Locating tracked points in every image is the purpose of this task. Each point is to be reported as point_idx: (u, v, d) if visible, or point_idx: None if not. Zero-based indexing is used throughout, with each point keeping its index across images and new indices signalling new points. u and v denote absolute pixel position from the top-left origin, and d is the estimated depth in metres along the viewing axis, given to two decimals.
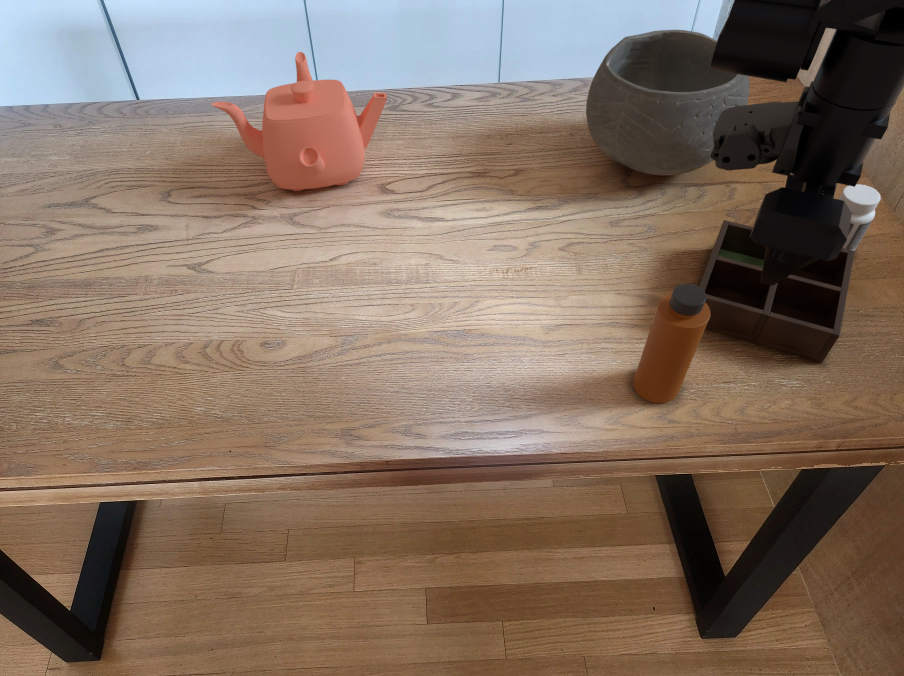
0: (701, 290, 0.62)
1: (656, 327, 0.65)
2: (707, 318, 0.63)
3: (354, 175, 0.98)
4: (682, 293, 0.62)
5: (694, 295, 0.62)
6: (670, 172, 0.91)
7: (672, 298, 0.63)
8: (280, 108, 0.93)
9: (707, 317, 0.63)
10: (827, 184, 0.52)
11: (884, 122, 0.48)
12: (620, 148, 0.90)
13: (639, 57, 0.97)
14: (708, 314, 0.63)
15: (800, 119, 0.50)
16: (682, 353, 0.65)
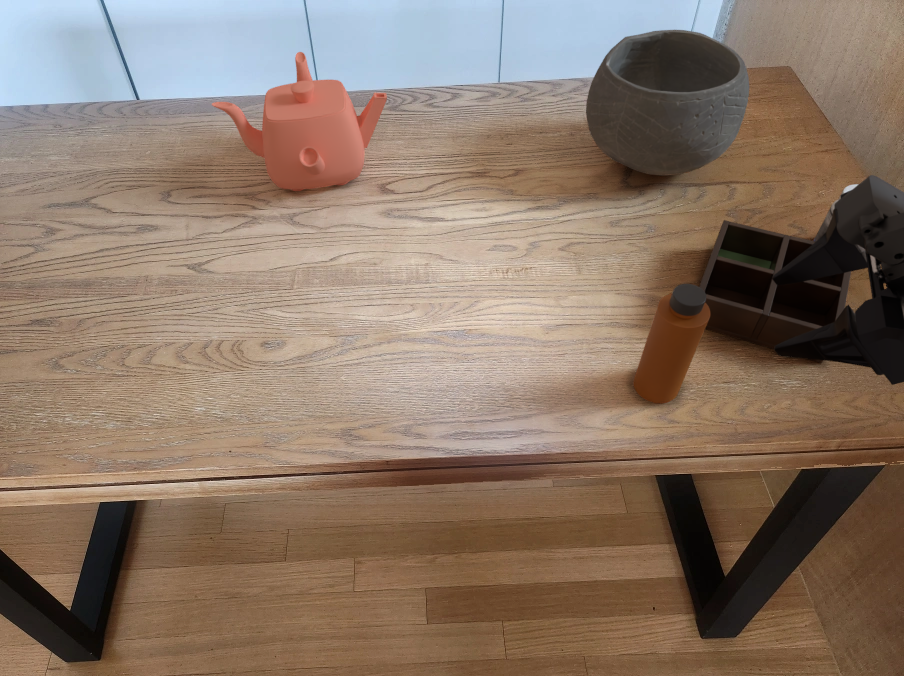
0: (701, 290, 0.62)
1: (656, 327, 0.65)
2: (707, 318, 0.63)
3: (354, 175, 0.98)
4: (682, 293, 0.62)
5: (694, 295, 0.62)
6: (670, 172, 0.91)
7: (672, 298, 0.63)
8: (280, 108, 0.93)
9: (707, 317, 0.63)
10: (902, 302, 0.53)
11: None
12: (620, 148, 0.90)
13: (639, 57, 0.97)
14: (708, 314, 0.63)
15: None
16: (682, 353, 0.65)
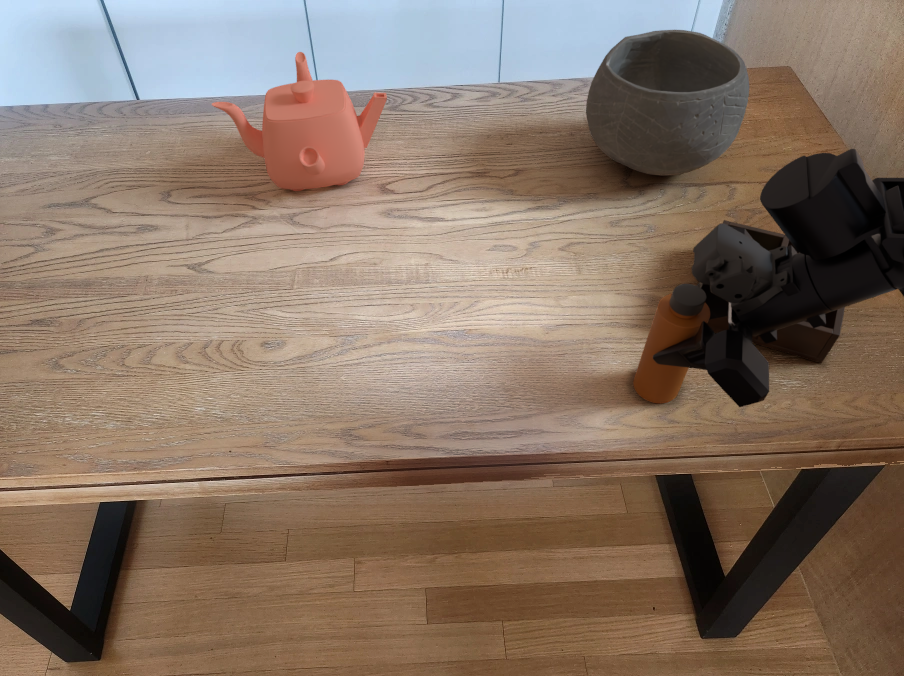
0: (701, 290, 0.62)
1: (657, 327, 0.65)
2: (707, 318, 0.63)
3: (354, 175, 0.98)
4: (682, 293, 0.62)
5: (694, 295, 0.62)
6: (670, 172, 0.91)
7: (672, 298, 0.63)
8: (280, 108, 0.93)
9: (707, 317, 0.63)
10: (753, 334, 0.60)
11: (824, 317, 0.57)
12: (620, 148, 0.90)
13: (639, 57, 0.97)
14: (708, 314, 0.63)
15: (785, 285, 0.55)
16: None
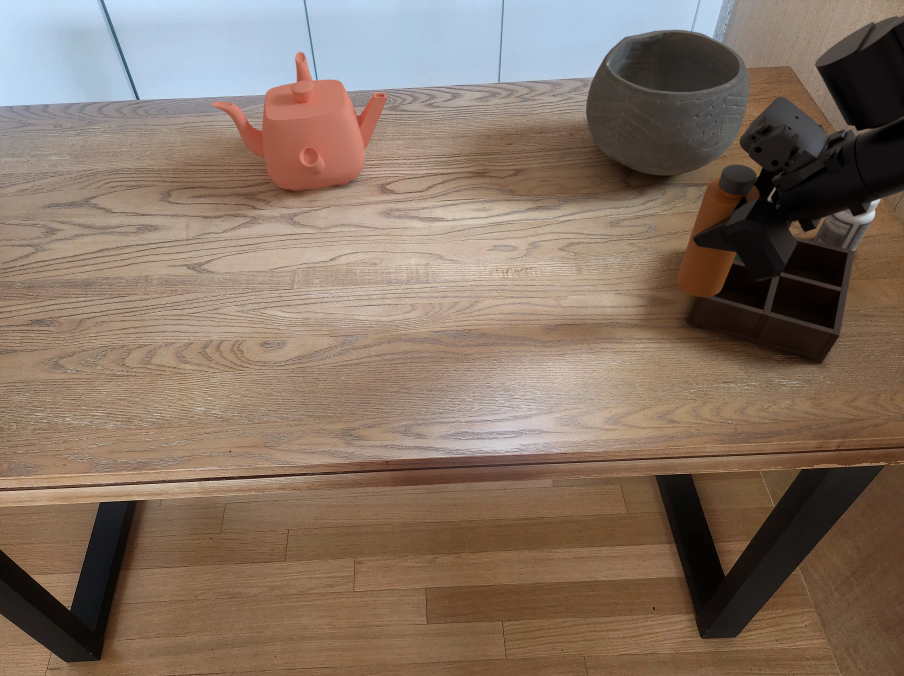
0: (753, 172, 0.63)
1: (702, 206, 0.66)
2: None
3: (354, 175, 0.98)
4: (732, 171, 0.63)
5: (744, 174, 0.63)
6: (670, 172, 0.91)
7: (721, 175, 0.63)
8: (280, 108, 0.93)
9: None
10: (792, 217, 0.60)
11: (866, 206, 0.56)
12: (620, 148, 0.90)
13: (639, 57, 0.97)
14: (755, 198, 0.63)
15: (828, 161, 0.55)
16: None
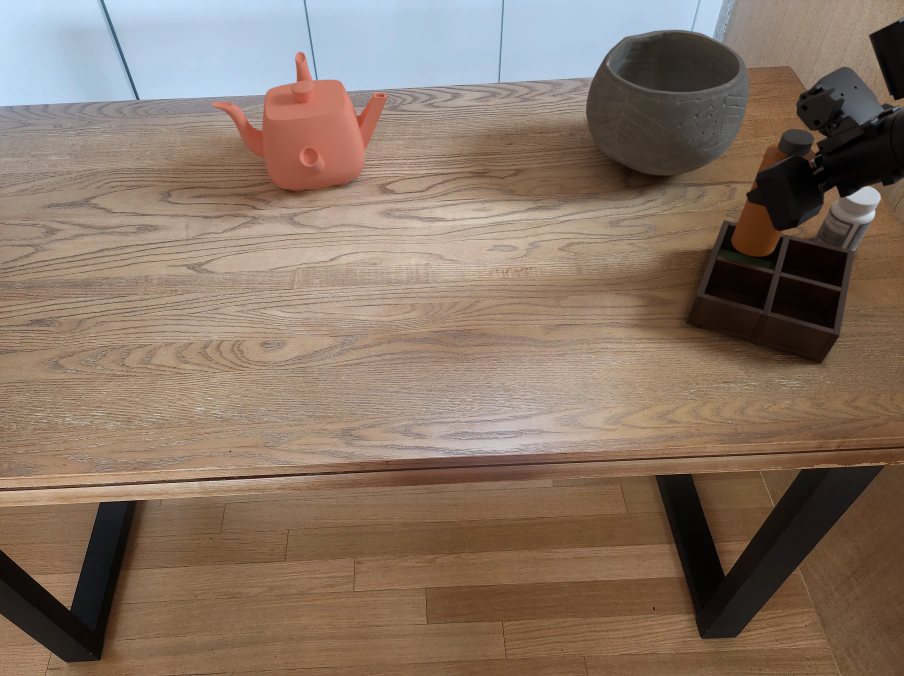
0: (812, 138, 0.68)
1: None
2: None
3: (354, 175, 0.98)
4: (792, 134, 0.68)
5: (802, 138, 0.68)
6: (670, 172, 0.91)
7: (782, 136, 0.69)
8: (280, 108, 0.93)
9: None
10: (831, 181, 0.65)
11: (897, 178, 0.60)
12: (620, 148, 0.90)
13: (639, 57, 0.97)
14: (809, 163, 0.68)
15: (867, 128, 0.60)
16: None
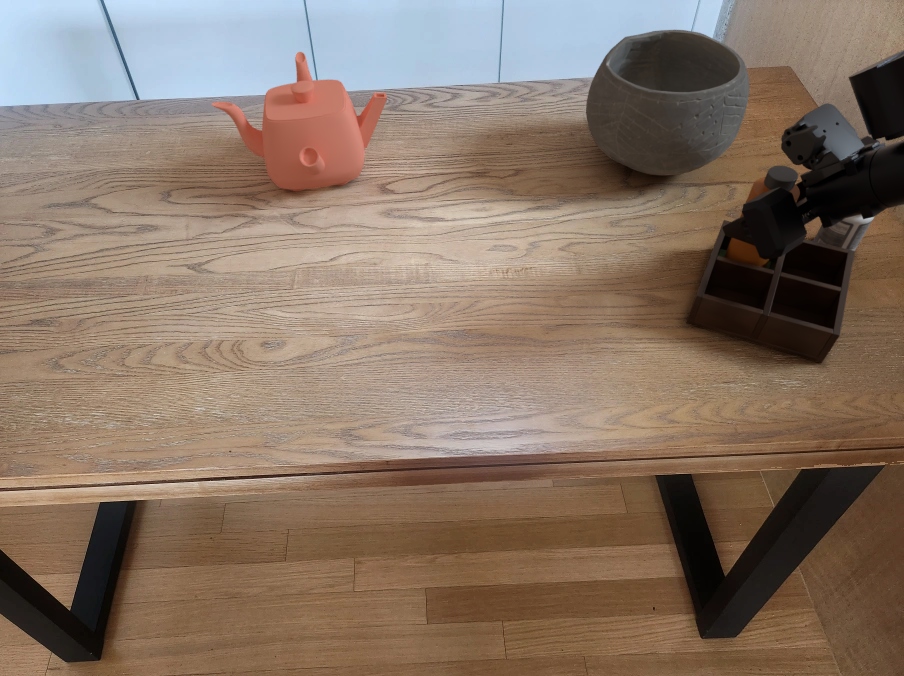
0: (796, 174, 0.71)
1: None
2: None
3: (354, 175, 0.98)
4: (777, 170, 0.72)
5: (786, 175, 0.71)
6: (670, 172, 0.91)
7: (767, 172, 0.72)
8: (280, 108, 0.93)
9: None
10: (814, 212, 0.68)
11: (876, 212, 0.63)
12: (620, 148, 0.90)
13: (639, 57, 0.97)
14: None
15: (847, 164, 0.63)
16: None
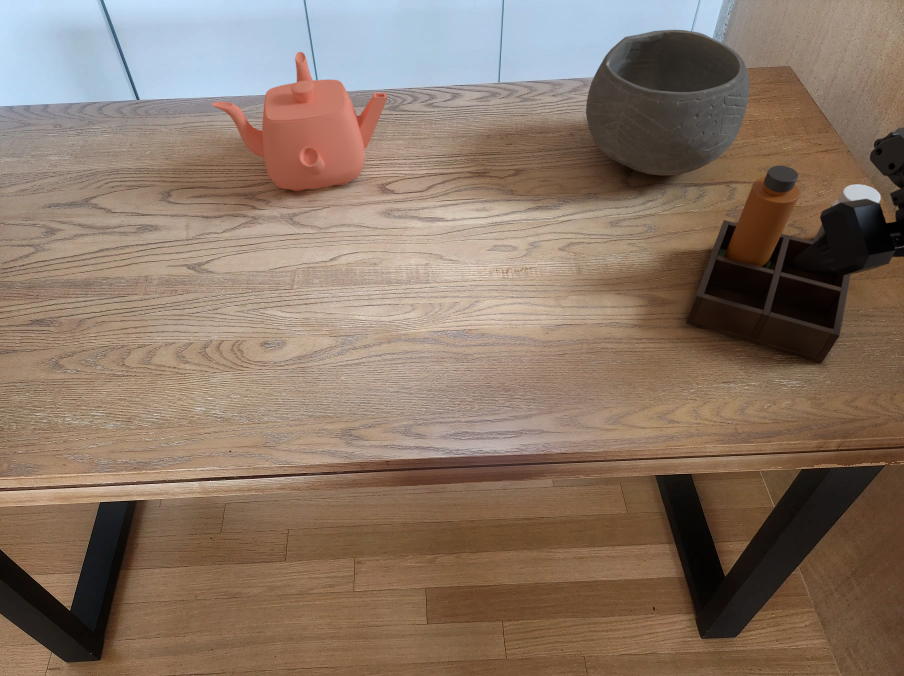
0: (796, 174, 0.71)
1: None
2: (789, 200, 0.71)
3: (354, 175, 0.98)
4: (777, 170, 0.72)
5: (786, 175, 0.71)
6: (670, 172, 0.91)
7: (767, 172, 0.72)
8: (280, 108, 0.93)
9: (790, 200, 0.72)
10: None
11: None
12: (620, 148, 0.90)
13: (639, 57, 0.97)
14: (793, 199, 0.72)
15: None
16: (758, 228, 0.75)
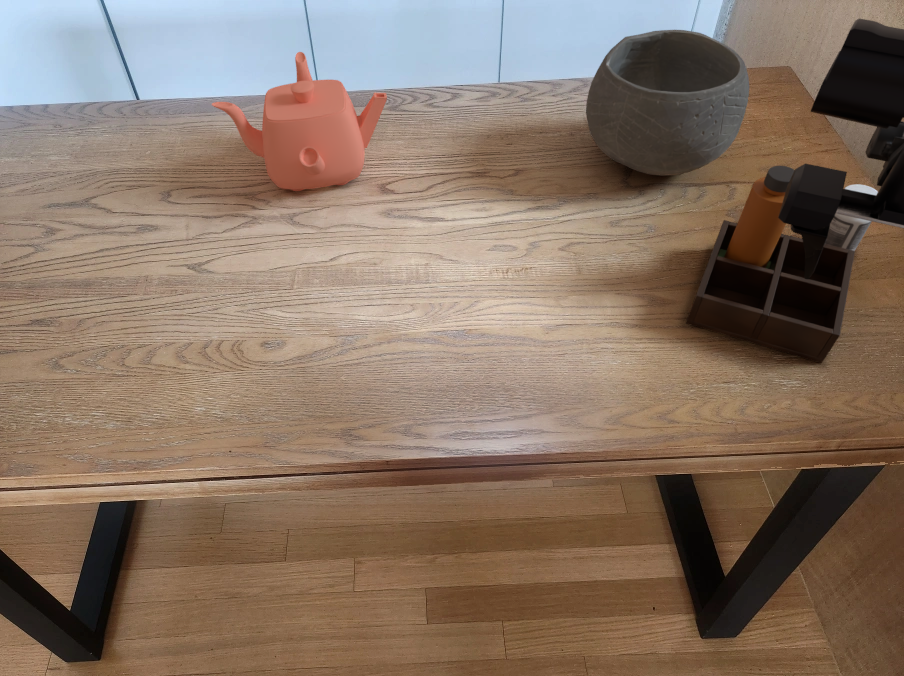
0: None
1: None
2: None
3: (354, 175, 0.98)
4: (777, 170, 0.72)
5: (786, 175, 0.71)
6: (670, 172, 0.91)
7: (767, 172, 0.72)
8: (280, 108, 0.93)
9: None
10: (875, 206, 0.56)
11: None
12: (620, 148, 0.90)
13: (639, 57, 0.97)
14: None
15: None
16: (758, 228, 0.75)
